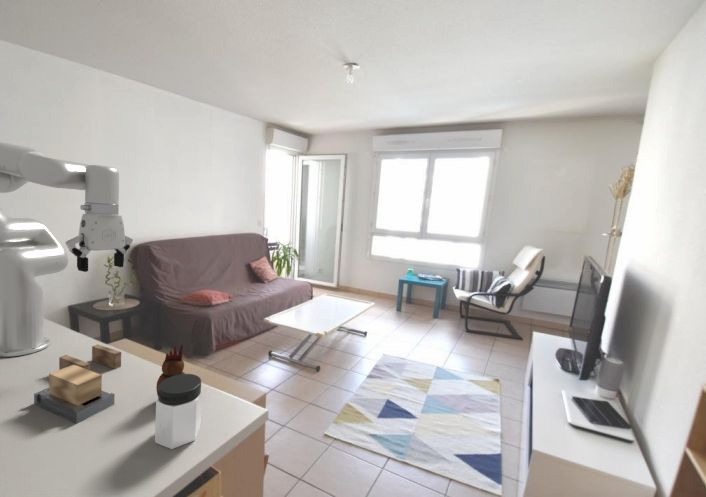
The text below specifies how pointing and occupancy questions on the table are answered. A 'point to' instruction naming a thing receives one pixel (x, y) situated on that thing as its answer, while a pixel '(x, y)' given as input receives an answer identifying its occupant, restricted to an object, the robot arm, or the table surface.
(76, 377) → the cardboard-coloured box
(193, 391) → the jar
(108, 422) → the table surface
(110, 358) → the wooden blocks
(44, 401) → the grey shallow tray
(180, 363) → the wooden figurine
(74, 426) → the table surface
